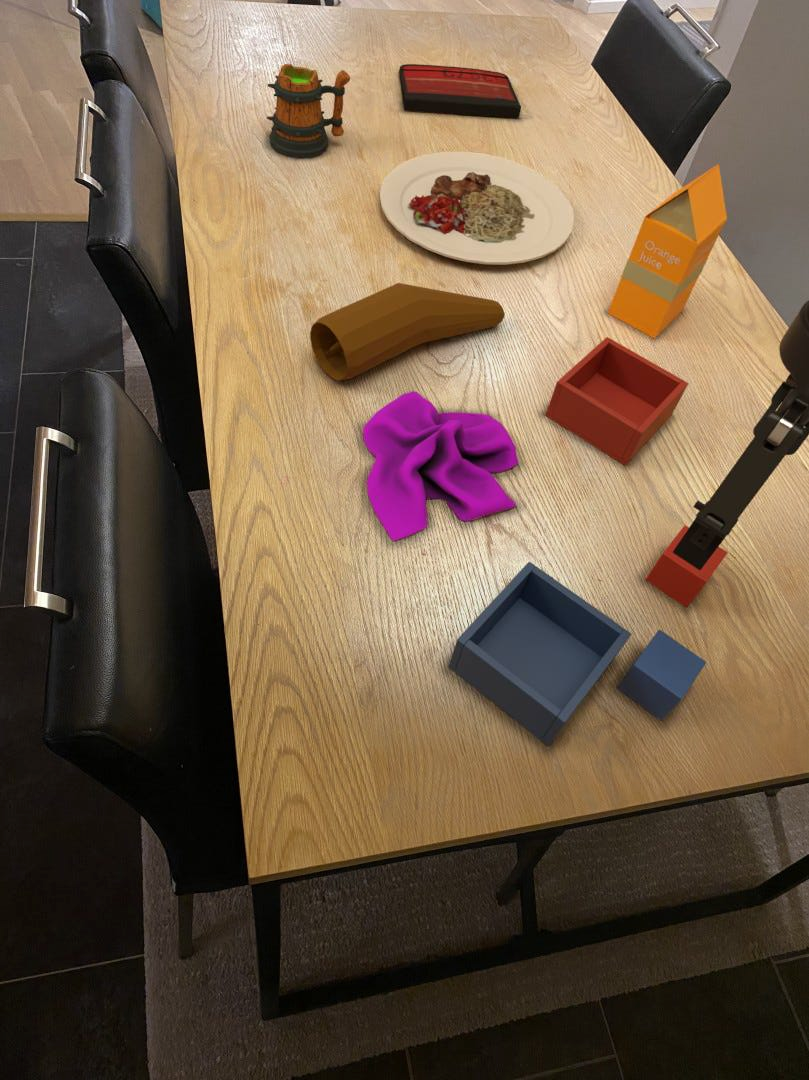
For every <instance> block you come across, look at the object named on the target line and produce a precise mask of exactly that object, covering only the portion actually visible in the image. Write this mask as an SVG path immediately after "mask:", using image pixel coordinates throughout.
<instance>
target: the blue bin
mask: <svg viewBox="0 0 809 1080" xmlns="http://www.w3.org/2000/svg"><path fill="white" fill-rule="evenodd" d="M632 634H633V633H632V632H630V631H629V630H628V629H626V628H625V627H623V626H622V625H621V624H620V623H618V622H616V621H614V620H613V619H612V618H610V617H609V616H608V615H606V614H605V613H604V612H602V611H600V610H599V609H598V608H596V607H595V606H593V605H592V604H591V603H590V602H588V601H586V600H585V599H584V598H582V597H581V596H579V595H578V594H577V593H575V592H573V591H572V590H570V589H569V588H568V587H566V586H565V585H564V584H562V583H561V582H560V581H558V580H557V579H555V578H554V577H552V576H551V575H550V574H548V573H547V572H545V571H544V570H543V569H541V568H539V566H536V565H535V564H534V563H532V562H531V561H528V562H526V564H525V565H524V566H523V567H522V568H521V570H520V571H519V572H518V573H517V574H516V575H515V576H514V577H513V578H512V579H511V581H510V582H508V584H507V585H506V586H504V588H503V589H502V590H501V591H500V592H499V593H498V594H497V596H496V597H494V599H493V600H492V601H491V602H490V603H489V604H488V606H487V607H485V609H483V610H482V612H481V613H480V614H479V615H478V616H477V617H476V619H474V620H473V621H472V623H471V624H470V625H469V626H468V627H467V628H466V629H465V630H464V631H463V632H462V633H461V634H460V636H459V637H458V638H457V639H456V642H455V645H454V648H453V650H452V654H451V657H450V660H449V663H448V666H447V667H448V668H449V669H450V670H451V671H452V672H453V673H455V674H456V675H457V676H458V677H460V678H461V679H463V680H464V681H465V682H466V683H467V684H468V685H470V686H471V687H473V688H474V689H475V690H476V691H477V692H479V693H480V694H481V695H482V696H484V697H485V698H487V699H488V700H489V701H490V702H492V703H493V704H494V705H495V706H496V707H498V708H499V709H500V710H502V712H504V713H505V714H507V715H508V716H509V717H511V718H512V719H513V720H514V721H516V723H518V724H519V725H521V726H522V727H523V728H524V729H526V731H528V732H529V733H530V734H532V735H533V736H534V737H536V738H537V739H538V740H540V741H541V742H542V743H543V744H544V745H546V746H547V747H549V746H550V745H551V744H552V743H553V741H554V740H555V738H556V737H557V736H558V734H559V733H560V732H561V731H562V729H563V728H564V726H565V725H566V724H567V723H568V721H569V720H570V719H571V717H572V716H573V714H574V713H575V712H576V710H577V709H578V708H579V706H581V704H582V702H583V701H584V700H585V698H586V697H587V696H588V694H589V693H590V692H591V690H592V689H593V688H594V687H595V685H596V684H597V682H599V680H600V678H601V677H602V676H603V674H604V673H605V672H606V670H607V669H608V668H609V666H610V665H611V664H612V662H613V661H614V660H615V658H616V657H617V656H618V654H619V653H620V652H621V650H622V649H623V647H624V646H625V644H626V643H627V642H628V640H629V639H630V638H631V636H632Z"/></svg>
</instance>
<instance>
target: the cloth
mask: <svg viewBox="0 0 809 1080" xmlns="http://www.w3.org/2000/svg"><path fill="white" fill-rule="evenodd" d="M362 434H363V440H364V444H365V447H366V448H367V450H368V451H369V452H370V453H371V454H372V455H373V456H374V457H375V458H374V462H373V465H372V466H371V469H370V472H369V473H368V475H367V478H366V479H367V480H366V489H367V495H368V500H369V502H370V505H371V507H372V509H373V512H374V514H375V516H377V518H378V520H379V522H380V524H381V525H382V526H383V528H384V530H385V531H386V533H387V535H388V537H389V538H390V540H391V541H393V542H397V541H400V540H403V539H406V538H407V537H411V536H412V535H414V534H416V533H418V532H421V531H423V530H424V529H425V528H426V527H427V526H428V523H429V521H428V507H427V500H437V499H438V500H439V499H440V500H443V501H445V503H446V505H447V506H448V507H449V508H450V509H451V510H452V512H453V513H454V514H455V516H456V517H457V518H458V519H459V520H461V522H467V521H474V520H477V519H480V518H482V517H484V516H489V515H492V514H496V513H500V512H503V511H507V510H510V509H512V508H515V507H516V506H517V504H516V503H515V501H513V499H511V498H510V496H509V495H508V494H507V492H506V491H505V490H504V488H503V487H502V486H501V485H500V484H499V482H498V480H497V479H496V478H495V477H494V475H493V474H496V473H502V472H506V471H507V470H510V469H511V468H513V467H515V466H516V465H518V464H519V459H518V455H517V447H516V445H515V442H514V441H513V438H512V437H511V435H510V433H509V432H508V430H507V429H506V428H505V427H504V425H503V424H502V423H501V422H500V421H498V420H497V419H496V418H493V415H489V414H485V413H475V412H473V413H472V412H454V411H449V412H440V413H439V412H438V409H437V408H436V406H435V405H434V404H433V403H432V402H431V401H430V400H428V399H426V398H425V397H423V396H422V395H421V394H420V393H419V392H418V391H414V390H413V391H409V392H406V393H403V394H401V395H400V396H398V397H397V398H395V399H394V400H392V401H390V402H389V403H387V404H385V405H384V406H383V407H382V408H379V410H378V411H376V412H375V414H373V416H371V418H370V419H369V420H368V421H367V422H366V424H364V425H363V428H362Z"/></svg>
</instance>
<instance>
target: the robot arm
mask: <svg viewBox="0 0 809 1080" xmlns="http://www.w3.org/2000/svg"><path fill="white" fill-rule="evenodd" d="M778 350H779V358H780V360H781V363H782V364H783V366H784V368H785V369H786V371H787V372H788V373H789V374H788V376H787V377H786V379H785V380H783V381H782V383H781V384H780V385H779V387H778V388H777V390H776V391H775V392H774V393H773V395H772V396H771V400H770V402H771V403H770V405H769V406H768V408H767V409H766V411H764V413H763V415H762V416H761V417H760V419H759V421H758V422H756V424H755V426H754V427H753V429H752V433H753V436H754V437H753V438H752V440H751V441H750V443H749V444H748V445H747V446H746V448H745V449H744V451H743V452H742V454H741V455H740V457H739V458H738V459H737V460H736V462H735V463H734V465H733V466H732V467H731V469H730V471H729V472H728V473H727V475H725V477H724V479H723V480H722V481H721V483H720V484H719V486H718V487H717V489H716V490H715V492H714V493H713V494H712V495H711V497H710V498H709V500H707V501H706V502H705V503H703V502H702V501H700V500H699V499H698V500H696V502H695V503H694V505H693V508H694V509H695V510H697V511H698V512H697V513H696V515H695V516H696V517H694V520H693V521H692V523H691V524H690V526H688V527H689V529H688V530H687V532H686V533H685V535H684V536H683V538H682V539H681V540H680V542H679V543H678V545H677V546H676V548H675V549H674V551H673V552H672V553H674V554H675V555H677V556H679V557H680V558H682V559H683V560H685V561H686V562H688V563H689V564H691V565H692V566H694V567H695V568H697V569H698V570H701V569H702V567H703V566H704V565H705V563H706V562H707V561H708V560H709V558H710V557H711V556H712V554H713V553H714V552H715V550H716V549H717V548H718V546H719V547H720V545H721V544H722V543H723V542H724V540H725V539H726V538H727V536H729V535H730V534H731V532H732V529H733V528H735V526H736V524H737V523H738V522H739V518H740V517H741V515H742V514H743V513H744V511H745V510H746V509H747V507H748V506H749V505H750V503H751V502H752V500H754V498H755V496H757V494H758V493H759V491H760V490H761V489H762V487H764V485H765V483H766V482H767V481H768V479H769V478H770V476H771V475H772V474H773V473H774V471H775V470H776V469H777V467H778V466H779V465H780V463H781V462H782V461H783V460H784V458H785V457H786V456H793V455H794V454H795V453H797V451H798V450H799V449H800V448H801V446H802V445H803V443H804V442H805V441H806V439H807V438H808V437H809V300H807V301H806V302H805V303H803V305H802V306H801V308H800V309H799V311H798V313H797V314H796V315H795V317H794V318H793V321H792V322H791V324H790V325H789V327H788V328H787V329H786V332H785V333H784V335H783V336H782V337H781V340H780V343H779V349H778Z"/></svg>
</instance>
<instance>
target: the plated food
mask: <svg viewBox="0 0 809 1080" xmlns="http://www.w3.org/2000/svg"><path fill="white" fill-rule="evenodd" d="M380 185H381V186H380V192H379V201H380V206H381V210H382V211H383V214H384V215H385V217H386V219H387V221H388V222H389V223H390V224H391V225H392V227H394V228H395V230H396V231H397V232H399V233H400V234H401V235H403V236H404V237H405V238H407V239H408V240H409V241H411V242H412V243H414V244H416V245H418V246H420V247H422V248H424V250H428V251H430V252H432V253H436V254H438V255H440V256H443V257H445V258H449V259H454V260H458V261H461V262H464V263H465V262H466V263H471V264H472V263H473V264H481V265H503V266H504V265H505V266H506V265H515V264H522V263H527V262H532V261H535V260H538V259H542V258H544V257H546V256H548V255H550V254H552V253H554V252H556V251H557V250H559V248H561V247H562V246H563V245H565V243H566V242H567V240H568V239H569V238H570V236H571V235H572V232H573V229H574V224H575V214H574V209H573V205H572V204H571V202H570V200H569V198H568V197H567V195H566V194H565V193H564V191H562V189H561V188H560V187H558V186H557V184H555V183H554V182H553V181H552V180H551V179H549V178H547V177H546V176H544V175H543V174H542V173H540V172H538V171H537V170H535V169H532V168H530V167H528V166H526V165H525V164H522V163H519V162H516V161H513V160H511V159H508V158H505V157H501V156H497V155H493V154H488V153H482V152H481V153H480V152H474V151H459V150H458V151H456V150H452V151H437V152H431V153H426V154H422V155H418V156H415V157H412V158H410V159H407V160H405V161H403V162H401V163H400V164H398V165H396V166H394V167H393V168H392V169H391V171H390V172H389V173H388V174H386V176H385V177H384V179H383V181H382V183H381V184H380Z"/></svg>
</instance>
